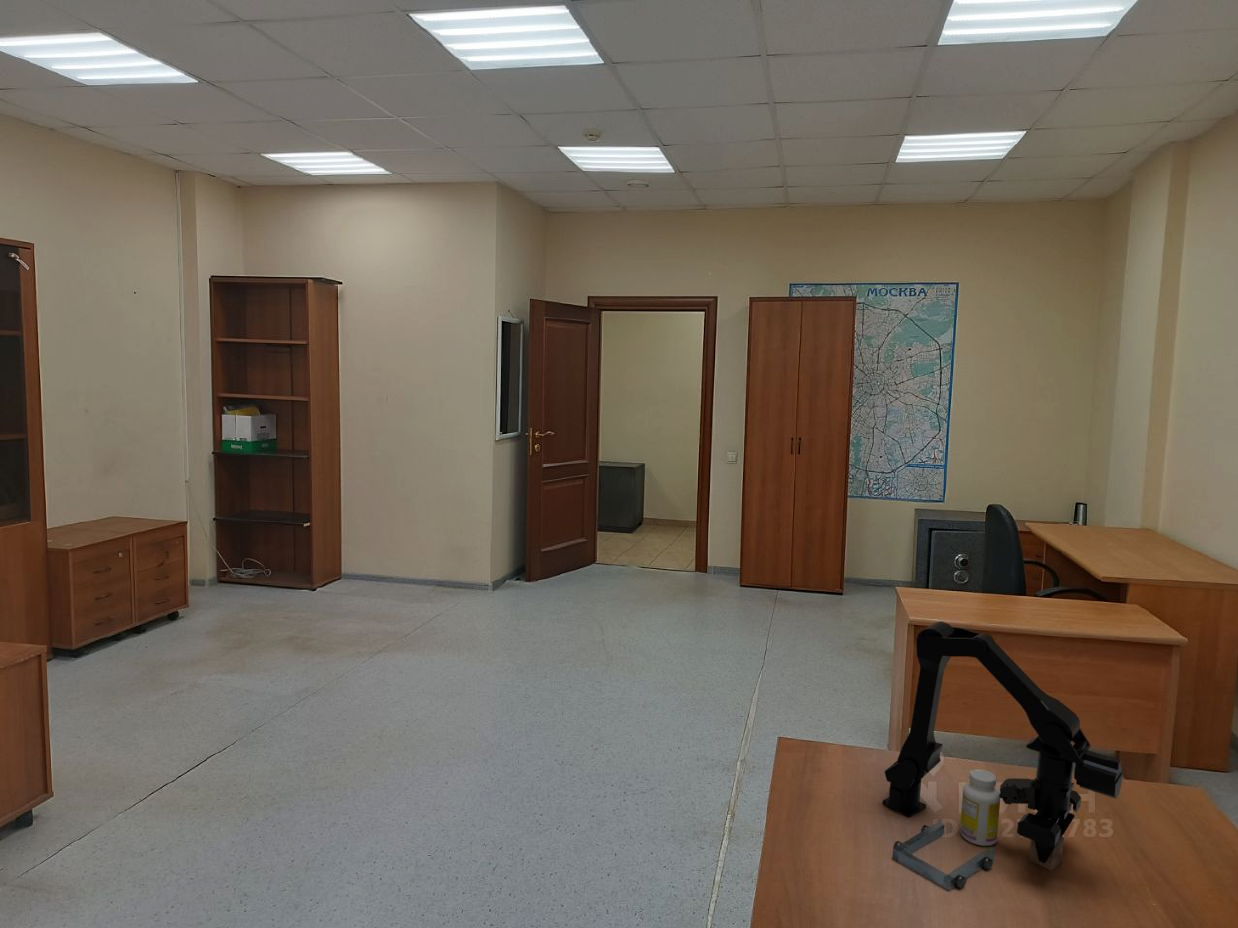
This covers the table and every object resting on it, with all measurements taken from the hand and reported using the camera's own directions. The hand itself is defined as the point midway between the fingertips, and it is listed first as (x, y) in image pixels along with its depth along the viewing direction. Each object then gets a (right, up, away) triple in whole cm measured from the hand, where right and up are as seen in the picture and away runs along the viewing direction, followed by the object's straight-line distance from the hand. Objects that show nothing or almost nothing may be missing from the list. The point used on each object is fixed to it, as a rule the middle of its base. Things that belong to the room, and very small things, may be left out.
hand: (1045, 855), depth 154 cm
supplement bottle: (-9, 0, +7) cm, 12 cm away
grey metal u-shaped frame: (-19, -1, 0) cm, 19 cm away
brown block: (0, -1, 0) cm, 1 cm away
